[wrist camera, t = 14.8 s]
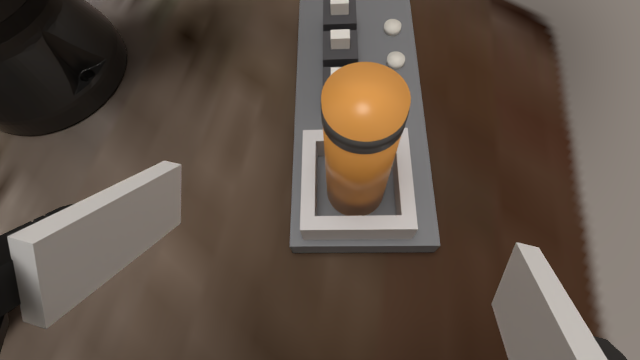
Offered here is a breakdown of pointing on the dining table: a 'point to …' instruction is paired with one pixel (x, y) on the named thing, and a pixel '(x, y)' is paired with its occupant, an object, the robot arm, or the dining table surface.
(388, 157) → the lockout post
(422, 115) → the breaker board
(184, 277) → the dining table surface
